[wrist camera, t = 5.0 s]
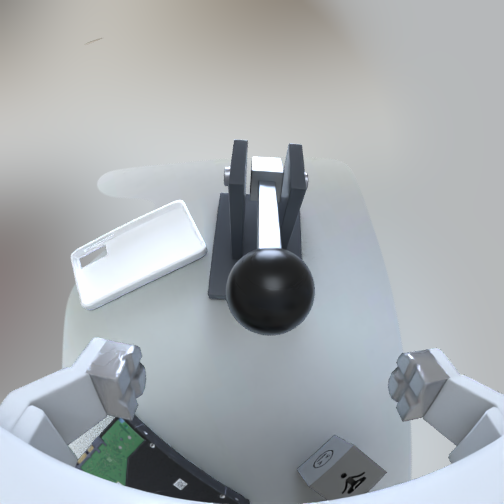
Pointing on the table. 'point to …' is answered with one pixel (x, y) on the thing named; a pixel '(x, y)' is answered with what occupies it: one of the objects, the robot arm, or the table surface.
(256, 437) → the table surface
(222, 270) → the bracket
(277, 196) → the lever
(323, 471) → the dice cube
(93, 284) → the phone case
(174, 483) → the disk drive
